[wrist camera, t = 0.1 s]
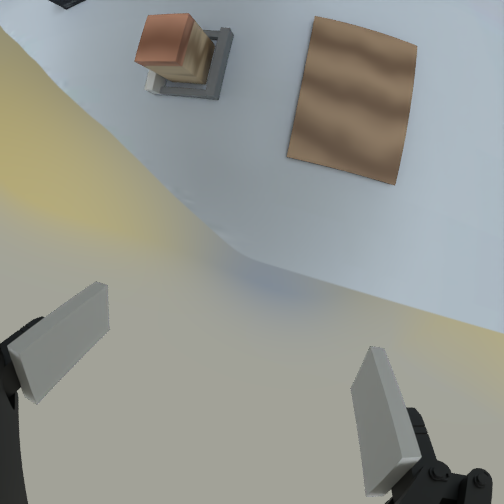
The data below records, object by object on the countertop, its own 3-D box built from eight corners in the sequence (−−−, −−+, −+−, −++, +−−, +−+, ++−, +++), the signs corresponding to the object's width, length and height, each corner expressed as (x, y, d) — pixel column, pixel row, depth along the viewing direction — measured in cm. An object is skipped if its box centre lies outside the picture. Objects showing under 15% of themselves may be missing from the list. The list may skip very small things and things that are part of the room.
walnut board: (314, 22, 31) (314, 15, 30) (412, 50, 30) (417, 46, 28) (287, 157, 38) (286, 156, 36) (390, 184, 36) (395, 185, 35)
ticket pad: (181, 44, 35) (147, 15, 24) (215, 45, 34) (188, 13, 24) (172, 82, 37) (134, 61, 26) (205, 84, 36) (175, 61, 26)
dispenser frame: (171, 33, 34) (161, 24, 31) (233, 34, 34) (228, 25, 30) (155, 94, 37) (144, 89, 34) (218, 99, 37) (211, 94, 33)
